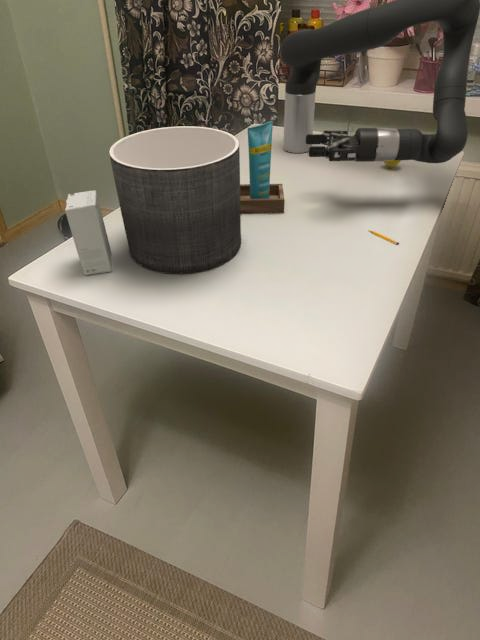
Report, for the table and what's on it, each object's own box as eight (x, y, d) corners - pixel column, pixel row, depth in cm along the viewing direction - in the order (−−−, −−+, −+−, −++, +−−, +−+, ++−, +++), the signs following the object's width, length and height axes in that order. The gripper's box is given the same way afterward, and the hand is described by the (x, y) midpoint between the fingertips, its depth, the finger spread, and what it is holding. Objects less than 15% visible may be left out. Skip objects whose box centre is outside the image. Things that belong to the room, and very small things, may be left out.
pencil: (396, 246, 104) (397, 243, 103) (366, 232, 109) (366, 229, 109) (399, 245, 104) (399, 242, 104) (368, 231, 110) (369, 228, 109)
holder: (236, 197, 125) (236, 184, 123) (281, 196, 125) (282, 183, 123) (235, 213, 118) (235, 200, 116) (283, 213, 117) (284, 199, 115)
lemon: (402, 166, 140) (408, 138, 135) (396, 172, 136) (401, 144, 131) (384, 163, 142) (389, 135, 137) (378, 169, 138) (382, 141, 133)
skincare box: (112, 272, 98) (97, 205, 89) (82, 276, 97) (63, 209, 88) (111, 252, 104) (97, 188, 95) (83, 256, 103) (66, 191, 94)
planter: (106, 262, 101) (81, 160, 87) (163, 212, 119) (150, 121, 106) (214, 285, 93) (206, 177, 80) (257, 228, 112) (257, 132, 98)
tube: (256, 209, 118) (255, 129, 106) (242, 203, 120) (241, 125, 108) (276, 200, 122) (278, 122, 110) (263, 194, 124) (263, 118, 112)
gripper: (372, 119, 115) (305, 119, 115) (385, 138, 104) (311, 139, 104) (367, 150, 120) (303, 150, 120) (379, 171, 109) (308, 172, 109)
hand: (307, 145), depth 112 cm, fingers open, 8 cm apart
